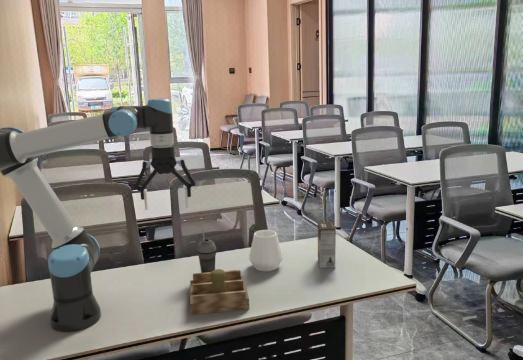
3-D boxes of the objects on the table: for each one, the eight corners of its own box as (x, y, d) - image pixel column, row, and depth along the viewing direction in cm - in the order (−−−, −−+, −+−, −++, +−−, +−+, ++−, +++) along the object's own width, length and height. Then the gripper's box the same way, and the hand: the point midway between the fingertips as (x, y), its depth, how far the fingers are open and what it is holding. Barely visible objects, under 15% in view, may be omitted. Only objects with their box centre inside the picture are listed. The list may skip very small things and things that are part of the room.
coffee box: (317, 259, 199) (317, 221, 195) (333, 258, 199) (333, 221, 195) (319, 268, 190) (319, 229, 186) (336, 267, 190) (336, 228, 186)
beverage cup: (215, 283, 179) (212, 232, 175) (196, 282, 181) (192, 231, 176) (220, 275, 186) (217, 225, 182) (202, 274, 188) (199, 225, 183)
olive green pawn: (221, 307, 159) (219, 276, 156) (206, 303, 162) (204, 272, 160) (232, 299, 164) (230, 269, 161) (217, 295, 167) (216, 265, 165)
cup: (262, 257, 202) (261, 225, 199) (289, 264, 194) (288, 231, 191) (242, 268, 192) (240, 235, 188) (270, 276, 184) (269, 241, 181)
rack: (191, 314, 157) (189, 296, 156) (191, 290, 175) (189, 273, 173) (249, 308, 160) (248, 291, 158) (243, 285, 177) (243, 269, 176)
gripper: (122, 149, 156) (128, 212, 161) (200, 145, 159) (203, 208, 164) (125, 145, 164) (131, 206, 169) (200, 142, 167) (203, 202, 171)
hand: (167, 207), depth 166 cm, fingers open, 13 cm apart
